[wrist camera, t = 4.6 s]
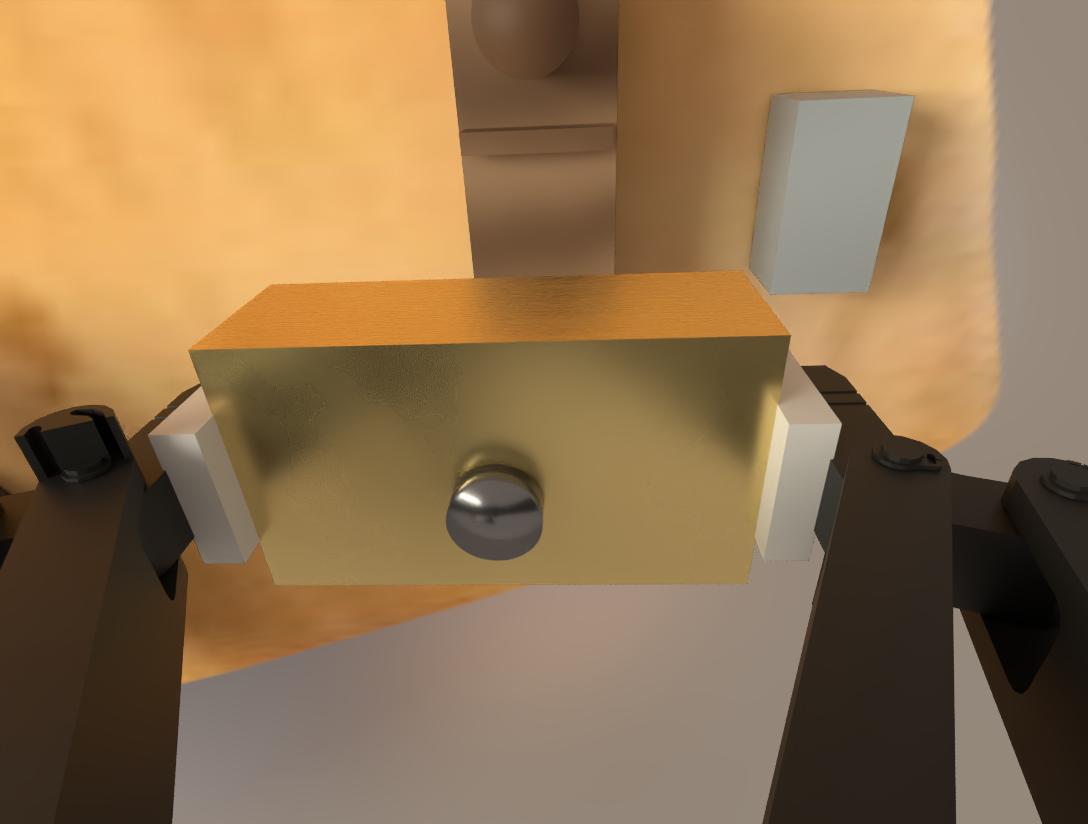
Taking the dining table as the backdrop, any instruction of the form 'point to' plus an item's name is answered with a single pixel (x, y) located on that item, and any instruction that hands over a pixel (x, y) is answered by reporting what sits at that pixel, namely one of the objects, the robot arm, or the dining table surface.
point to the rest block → (826, 189)
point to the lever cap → (501, 427)
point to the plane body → (537, 133)
